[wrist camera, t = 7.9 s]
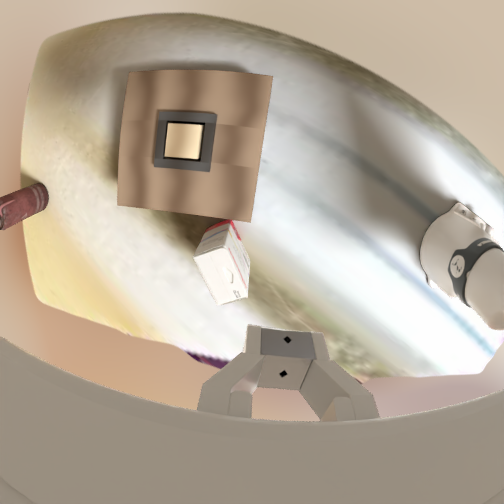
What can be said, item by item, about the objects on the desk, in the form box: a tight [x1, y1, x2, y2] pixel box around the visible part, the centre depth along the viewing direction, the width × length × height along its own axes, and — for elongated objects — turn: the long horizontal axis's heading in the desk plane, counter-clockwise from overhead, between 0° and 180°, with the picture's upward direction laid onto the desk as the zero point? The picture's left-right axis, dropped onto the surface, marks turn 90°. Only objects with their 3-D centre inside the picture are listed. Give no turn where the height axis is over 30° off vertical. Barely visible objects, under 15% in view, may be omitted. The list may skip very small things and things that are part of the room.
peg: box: [165, 123, 205, 159], centre depth 35 cm, size 4×4×9 cm
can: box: [0, 183, 49, 230], centre depth 38 cm, size 6×6×14 cm
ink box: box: [193, 219, 250, 305], centre depth 41 cm, size 9×5×12 cm, turn 21°
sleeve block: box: [117, 70, 273, 223], centre depth 36 cm, size 20×20×9 cm
